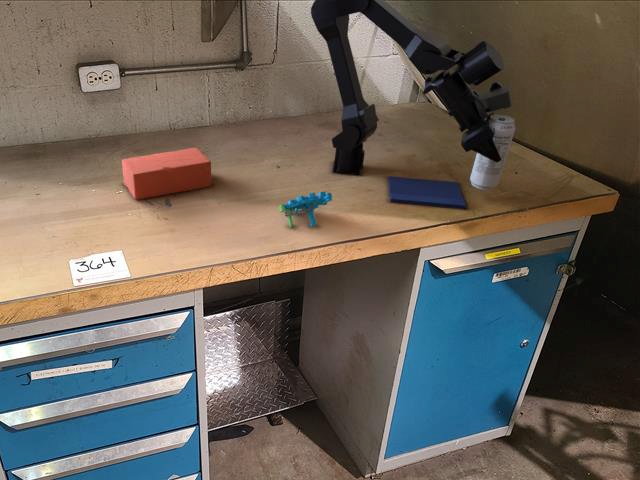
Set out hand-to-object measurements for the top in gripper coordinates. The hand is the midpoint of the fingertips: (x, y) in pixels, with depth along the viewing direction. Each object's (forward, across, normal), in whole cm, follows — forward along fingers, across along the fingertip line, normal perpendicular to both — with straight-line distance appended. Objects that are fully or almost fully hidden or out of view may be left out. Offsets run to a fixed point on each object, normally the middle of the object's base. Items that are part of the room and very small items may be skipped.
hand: (498, 155), depth 128 cm
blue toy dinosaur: (-18, -23, +33) cm, 44 cm away
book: (-2, -1, +17) cm, 17 cm away
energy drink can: (+4, 0, +6) cm, 7 cm away
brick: (-41, -18, +57) cm, 72 cm away
